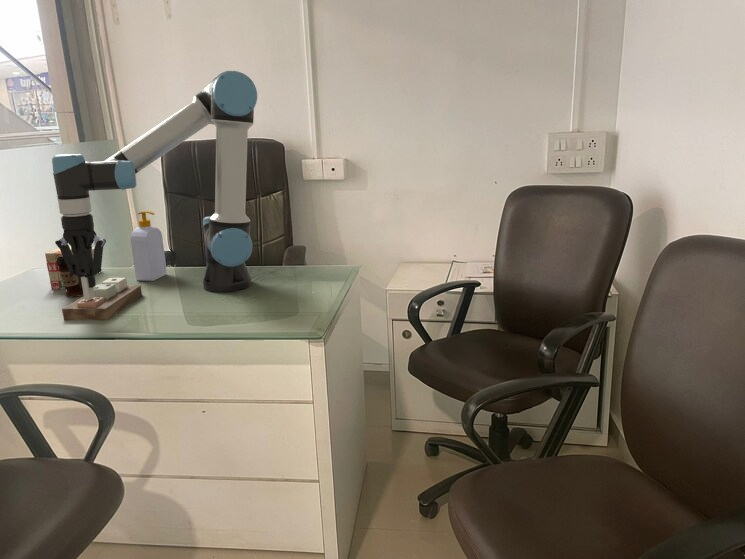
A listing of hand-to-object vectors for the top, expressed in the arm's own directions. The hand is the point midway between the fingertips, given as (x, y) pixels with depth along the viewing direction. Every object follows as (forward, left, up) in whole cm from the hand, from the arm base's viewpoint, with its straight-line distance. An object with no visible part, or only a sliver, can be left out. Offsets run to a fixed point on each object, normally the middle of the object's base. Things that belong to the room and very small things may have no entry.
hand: (89, 298), depth 154 cm
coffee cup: (+15, -19, -5) cm, 25 cm away
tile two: (0, -7, -2) cm, 7 cm away
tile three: (0, 0, -3) cm, 3 cm away
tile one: (0, -14, -2) cm, 14 cm away
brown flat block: (0, -7, -5) cm, 9 cm away
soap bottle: (-1, -38, -5) cm, 38 cm away
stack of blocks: (+24, -36, -5) cm, 43 cm away
